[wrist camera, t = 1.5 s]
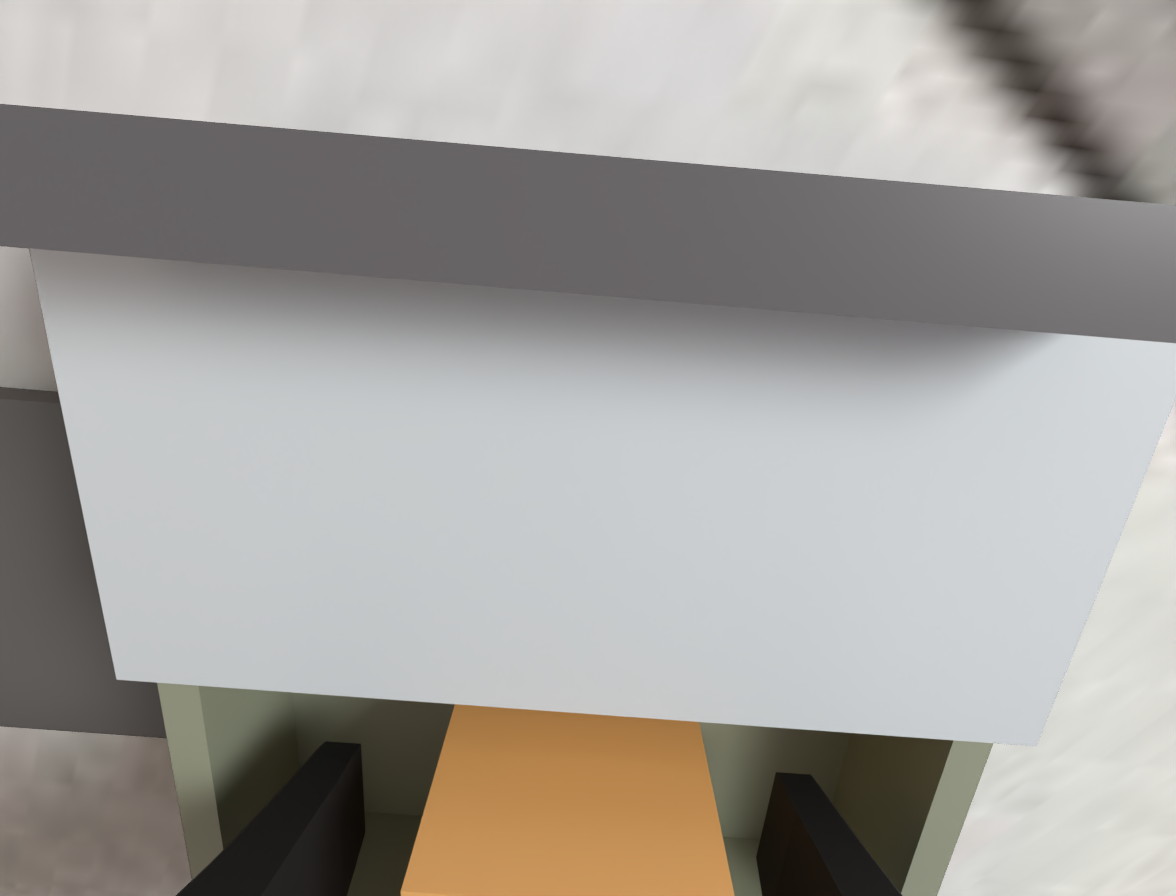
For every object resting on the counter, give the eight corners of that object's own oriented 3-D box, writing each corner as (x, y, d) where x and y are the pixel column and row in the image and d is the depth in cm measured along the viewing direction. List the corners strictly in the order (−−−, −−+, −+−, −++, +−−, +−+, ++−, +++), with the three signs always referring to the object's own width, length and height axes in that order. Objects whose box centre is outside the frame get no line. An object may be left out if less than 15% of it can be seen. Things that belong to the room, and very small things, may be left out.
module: (660, 806, 14) (692, 1113, 9) (471, 792, 14) (405, 1096, 9) (684, 649, 12) (738, 914, 8) (475, 633, 12) (400, 890, 8)
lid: (1010, 714, 9) (1140, 872, 7) (145, 651, 9) (-1, 793, 7) (1192, 226, 7) (1471, 231, 5) (50, 128, 7) (-214, 85, 5)
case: (834, 844, 15) (895, 1006, 12) (287, 806, 15) (206, 961, 12) (1011, 223, 10) (1185, 225, 7) (220, 155, 10) (58, 129, 7)
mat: (240, 721, 14) (225, 742, 13) (-94, 696, 14) (-124, 717, 13) (200, 403, 11) (179, 412, 11) (-205, 370, 11) (-247, 379, 11)
